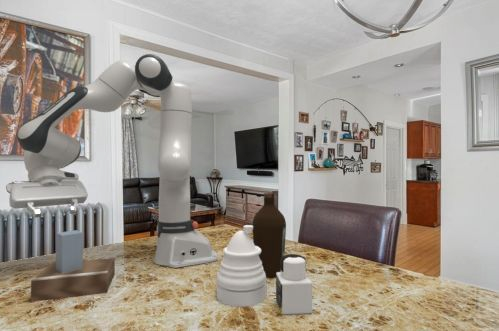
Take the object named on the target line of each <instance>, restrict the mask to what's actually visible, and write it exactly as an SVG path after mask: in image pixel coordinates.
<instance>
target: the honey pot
mask: <svg viewBox="0 0 499 331" xmlns="http://www.w3.org/2000/svg"><path fill="white" fill-rule="evenodd" d="M242 228H243V230H238V231H237V232H236V233H235V232H234V234H233V235H232V237H231V239H230V240H229V243H228V245H227V246H226V247H224V248H223V251H222V253H223V257H222V259H221V261H220V265H219V268H218V272H217V273H216V298H217V301H218V302H220V303H222V304H224V305H226V306H229V307H237V308H240V307H241V308H245V307H251V306H255V305H256V306H257V305H258V304H260V303H262V302H263V301H264V300H265V299H266V298H267V282H266V281H267V277H266V274H265V272H264V269H263V266H262V261H261V260H260V258H259V254H260V253H261V248H259V247H258V246H255V245H254V243H253V239H252V237H251V236H250V235H249V234H251V233H253V226H252V225H251V224H250V225H249V224H246V225H243V227H242Z"/></svg>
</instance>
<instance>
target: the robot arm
mask: <svg viewBox="0 0 499 331" xmlns="http://www.w3.org/2000/svg"><path fill="white" fill-rule="evenodd" d="M137 90H138V91H139V92H140V93H143V94H146V95H147V96H150V97H154V98H160V121H159V122H160V126H159V127H160V128H159V143H158V156H157V171H158V173H159V180H158V181H159V185H158V186H159V187H158V188H159V189H158V220H157V224H156V236H157V243H156V251H155V255H154V258H153V262H154V264H156V265H159V266H160V265H161V266H163V267H164V266H166V267H170V268H174V269H176V268H183V267H188V266H193V265H194V266H195V265H200V264H207V263H212V262H216V261H217V260H218V252H216V251H215V250H214V249H212V246H211V242H210V240H209V238H207V237H206V236H205V235H204V234H202V232H200V231H199V230H197V228H198V227H199V223H198V222H197V221H196V220H193V219H191V183H190V182H191V181H190V178H191V177H190V176H191V175H190V173H191V170H192V131H193V129H192V127H193V125H192V124H193V100H192V93H191V90H190V87H189V86H188V85H187V84H185V83H182V82H180V81H179V82H178V81H174V80H173V75H172V73H171V71H170V69H169V67H168V65H167V64H166V62H165V61H164V60H163V59H162V58H161V57H160V56H158V55H156V54H152V53H147V54H146V53H145V54H143V55H141V56H140V57H139V58H138V59H137V61H136V62H135V65H134V64H132V63H130V62H129V61H127V60H122V59H119V60H117V61H115V62H113V63H112V64H110V65H109V66H108V67H107V68H105V70H104V71H103V72H102V73H101V74H100V75H98V77H97V78H96V79H95V80H94V81H92V82H90V84H87V85H83V86H82V85H78V86H75V87H73V88H71V89H70V90H69V91H67V92H66V93H65V94H63V95H62V96H61V97H59V98H58V99H57V100H55V102H53V103H51V105H49V106H47V108H45V110H42V112H40V113H39V114H38V115H37V116H35V117H34V118H31V119H30V120H28V121H26V122H25V123H23V124H22V125H21V126H20V127H19V128H18V131H17V133H16V138H17V142H18V145H19V146H20V147H21V149H22V150H24V151H23V161H24V167H25V170H26V171H27V179H28V180H23V181H15V180H14V181H12V182H9V183H8V184H6V186H5V189H6V192H7V193H8V194H9V199H8V200H9V202H8V203H9V207H10V208H12V209H14V210H15V209H26V212H27V211H28V212H29V213H30V214H31V215H32V217H33V218H34V219H36V218H40V217H41V213H42V212H41V210H40V208H39V207H53V206H62V205H63V206H65V205H70V206H69V208H68V212H69V214H70V215H72V214H76V213H77V208H76V206H77V204H84V203H85V202H86V200H87V198H88V196H89V194H88V191H87V189H86V187H85V185H84V183H83V182H82V181H81V180H80V179H79V174H78V173H75V172H69V171H65V170H63V169H65V168H66V167H68V166H70V165H71V164H73V163H75V162H76V161H77V160H79V157H80V156H81V151H82V145H81V143H80V140H78V139H77V138H75V137H74V136H71V135H69V134H67V132H63V131H61V130H59V128H58V129H57V128H56V126H58V125H59V124H60V123H61V122H63V121H64V120H65V119H66V118H68V117H69V116H70V115H71V114H72V113H74V112H76V111H79V110H91V111H95V112H101V113H111V112H115V111H117V110H118V109H119V108H120V107H121V106H122V105H123V104H124V103H125V102H126V100H127V99H128V98H129V97H130V95H131V94H132V93H133V92H135V91H137ZM61 169H62V170H61ZM36 208H39V209H36Z"/></svg>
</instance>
